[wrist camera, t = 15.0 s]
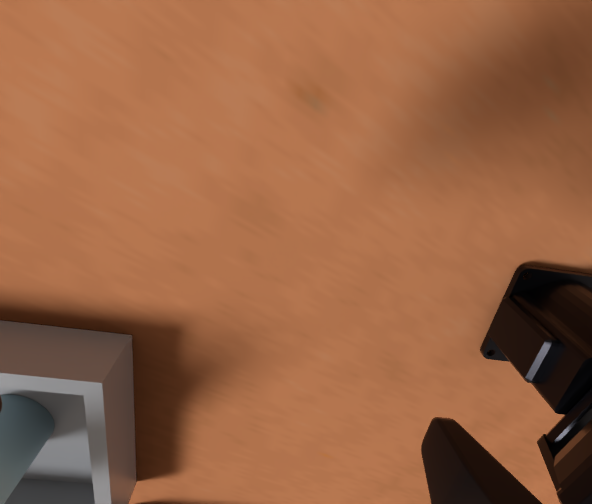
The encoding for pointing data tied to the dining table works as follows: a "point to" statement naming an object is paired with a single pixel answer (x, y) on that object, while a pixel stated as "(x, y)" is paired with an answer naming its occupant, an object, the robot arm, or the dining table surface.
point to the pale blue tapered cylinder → (20, 438)
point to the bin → (74, 411)
